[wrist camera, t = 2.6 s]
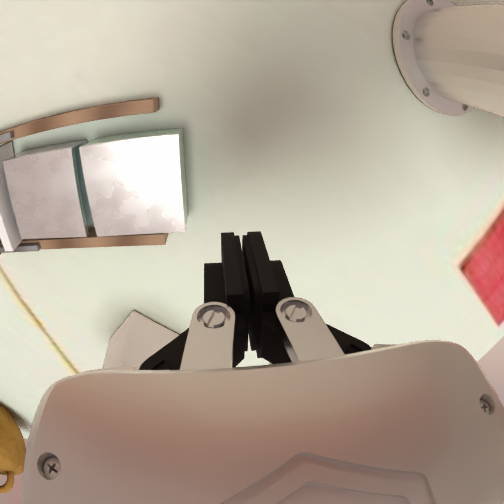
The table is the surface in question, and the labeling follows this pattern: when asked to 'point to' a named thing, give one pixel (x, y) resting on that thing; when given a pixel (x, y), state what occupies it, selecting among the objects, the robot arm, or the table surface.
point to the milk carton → (136, 341)
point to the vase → (10, 449)
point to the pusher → (7, 206)
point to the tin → (136, 182)
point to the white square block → (49, 192)
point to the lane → (75, 118)
